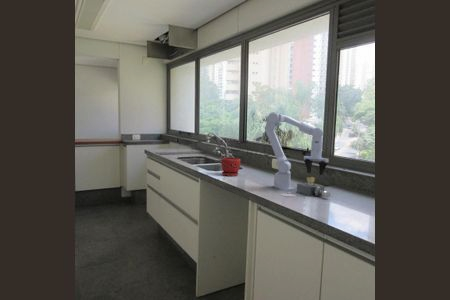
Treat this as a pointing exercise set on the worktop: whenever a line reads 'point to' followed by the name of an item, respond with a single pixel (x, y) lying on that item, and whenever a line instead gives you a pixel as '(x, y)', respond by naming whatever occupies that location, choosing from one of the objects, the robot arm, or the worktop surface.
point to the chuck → (312, 190)
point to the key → (310, 181)
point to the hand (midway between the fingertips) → (315, 173)
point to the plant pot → (230, 166)
